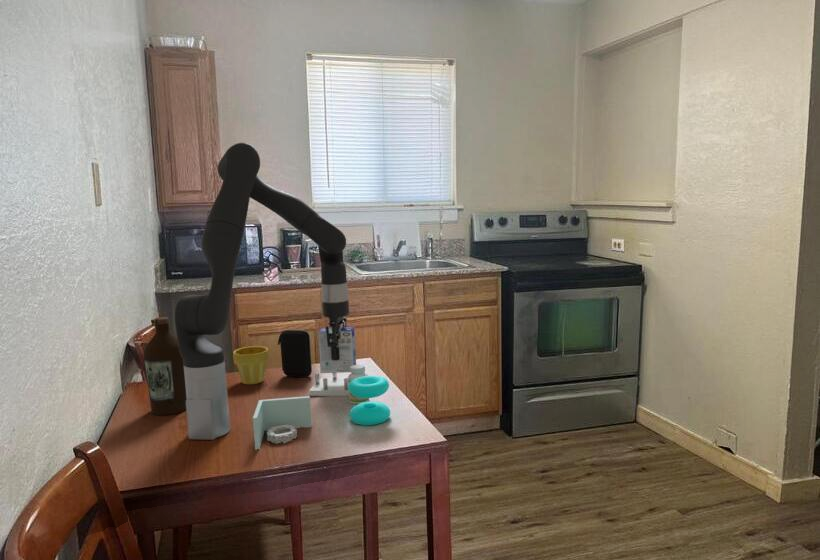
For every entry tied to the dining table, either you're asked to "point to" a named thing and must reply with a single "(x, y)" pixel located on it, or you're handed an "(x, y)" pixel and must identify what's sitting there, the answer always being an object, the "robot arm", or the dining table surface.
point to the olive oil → (165, 371)
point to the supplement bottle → (355, 373)
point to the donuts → (369, 410)
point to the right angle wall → (281, 419)
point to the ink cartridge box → (345, 352)
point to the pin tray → (329, 386)
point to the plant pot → (251, 363)
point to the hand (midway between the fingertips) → (338, 356)
